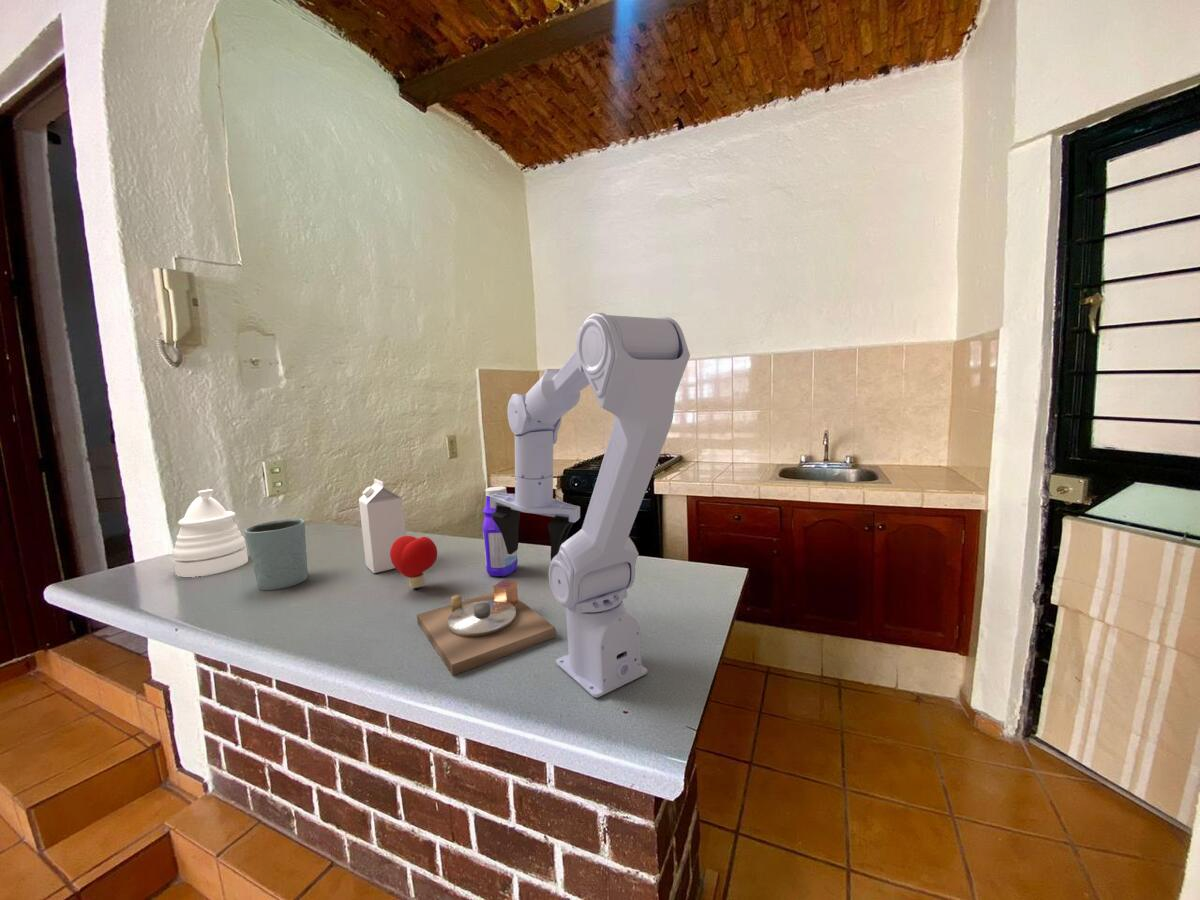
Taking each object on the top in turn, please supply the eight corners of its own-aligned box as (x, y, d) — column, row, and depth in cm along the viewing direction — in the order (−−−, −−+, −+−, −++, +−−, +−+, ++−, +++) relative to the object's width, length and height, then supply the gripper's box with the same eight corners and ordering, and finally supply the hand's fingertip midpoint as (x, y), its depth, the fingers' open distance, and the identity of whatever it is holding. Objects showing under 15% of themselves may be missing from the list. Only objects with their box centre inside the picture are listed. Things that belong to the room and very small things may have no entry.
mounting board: (555, 636, 68) (554, 612, 67) (452, 675, 59) (450, 647, 59) (505, 597, 83) (504, 576, 82) (417, 623, 74) (415, 600, 74)
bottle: (508, 579, 91) (502, 491, 89) (481, 578, 92) (474, 491, 90) (522, 565, 98) (516, 484, 96) (496, 565, 99) (490, 484, 97)
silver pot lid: (488, 642, 64) (486, 618, 64) (433, 629, 68) (431, 607, 68) (537, 604, 75) (536, 583, 75) (488, 595, 80) (486, 576, 79)
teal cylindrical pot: (289, 591, 90) (282, 530, 89) (238, 593, 90) (230, 533, 89) (322, 571, 100) (315, 517, 99) (276, 573, 101) (268, 519, 99)
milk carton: (399, 557, 107) (391, 476, 105) (409, 565, 101) (400, 479, 99) (365, 566, 102) (356, 481, 100) (374, 574, 97) (364, 484, 95)
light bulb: (383, 593, 87) (378, 541, 85) (410, 579, 93) (405, 530, 92) (424, 598, 84) (419, 544, 82) (449, 583, 90) (444, 533, 89)
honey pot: (258, 562, 109) (247, 486, 107) (188, 581, 98) (175, 498, 96) (234, 554, 116) (224, 483, 114) (166, 572, 105) (154, 493, 103)
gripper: (588, 473, 72) (586, 554, 75) (506, 461, 76) (507, 538, 80) (570, 486, 65) (568, 574, 68) (481, 472, 70) (483, 555, 73)
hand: (534, 556), depth 74 cm, fingers open, 7 cm apart
